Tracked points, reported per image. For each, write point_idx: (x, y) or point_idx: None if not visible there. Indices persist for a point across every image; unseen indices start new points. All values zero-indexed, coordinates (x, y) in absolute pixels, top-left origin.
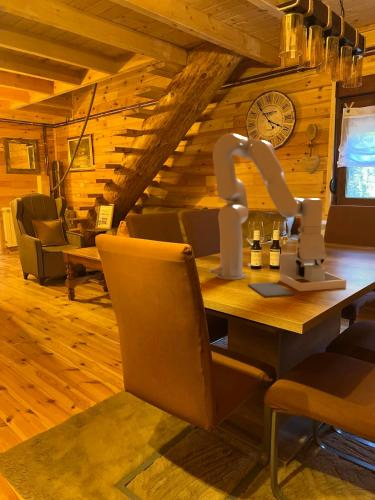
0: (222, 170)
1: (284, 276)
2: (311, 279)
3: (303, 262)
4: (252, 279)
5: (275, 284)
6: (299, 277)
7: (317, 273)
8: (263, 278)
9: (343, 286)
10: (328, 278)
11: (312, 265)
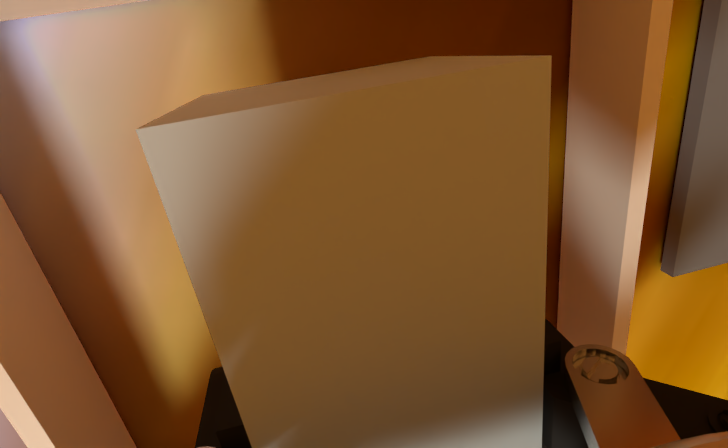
0: None
1: (621, 325)
2: (444, 57)
3: (623, 425)
4: (720, 397)
5: (713, 189)
6: None
7: (362, 76)
8: None
9: None
10: (74, 380)
11: (368, 424)
